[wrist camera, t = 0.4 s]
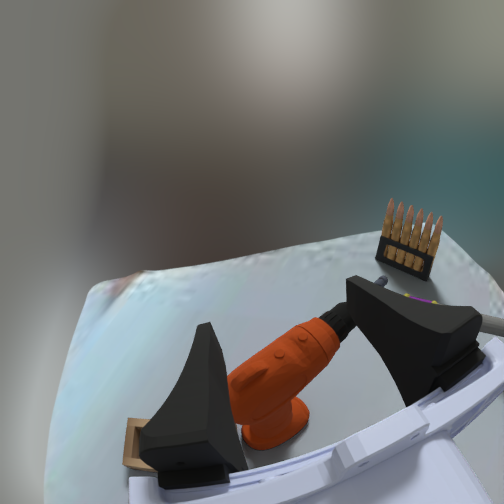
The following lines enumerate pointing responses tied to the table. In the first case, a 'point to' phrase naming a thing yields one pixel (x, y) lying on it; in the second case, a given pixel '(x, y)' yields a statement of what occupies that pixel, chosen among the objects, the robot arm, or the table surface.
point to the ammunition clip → (409, 242)
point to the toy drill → (285, 377)
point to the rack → (135, 445)
